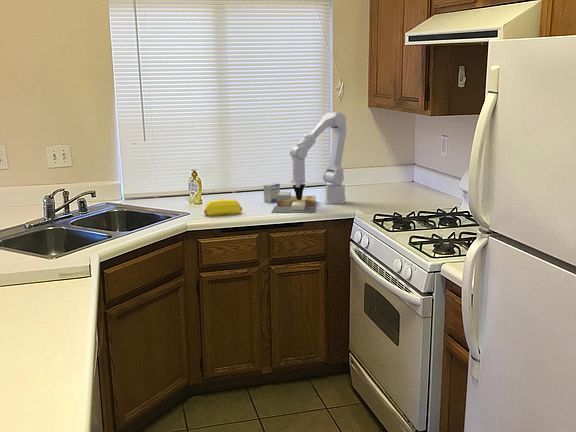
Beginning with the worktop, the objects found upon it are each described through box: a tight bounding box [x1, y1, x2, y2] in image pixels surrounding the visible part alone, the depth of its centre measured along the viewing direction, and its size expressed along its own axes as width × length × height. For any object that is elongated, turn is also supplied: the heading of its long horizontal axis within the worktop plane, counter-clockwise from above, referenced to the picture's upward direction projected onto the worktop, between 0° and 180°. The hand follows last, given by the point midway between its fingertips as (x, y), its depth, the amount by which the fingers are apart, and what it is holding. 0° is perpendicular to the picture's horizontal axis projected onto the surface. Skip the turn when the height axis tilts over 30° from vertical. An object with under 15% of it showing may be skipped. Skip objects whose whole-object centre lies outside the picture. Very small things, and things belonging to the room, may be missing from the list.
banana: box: [203, 199, 243, 217], centre depth 298 cm, size 18×7×8 cm
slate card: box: [278, 191, 292, 200], centre depth 318 cm, size 6×9×2 cm, turn 175°
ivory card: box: [291, 202, 306, 210], centre depth 307 cm, size 6×9×2 cm, turn 174°
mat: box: [271, 205, 317, 214], centre depth 304 cm, size 20×14×1 cm
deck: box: [276, 195, 317, 206], centre depth 317 cm, size 18×12×3 cm, turn 85°
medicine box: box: [263, 182, 281, 204], centre depth 326 cm, size 8×4×9 cm, turn 143°
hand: (299, 199), depth 309 cm, fingers closed
